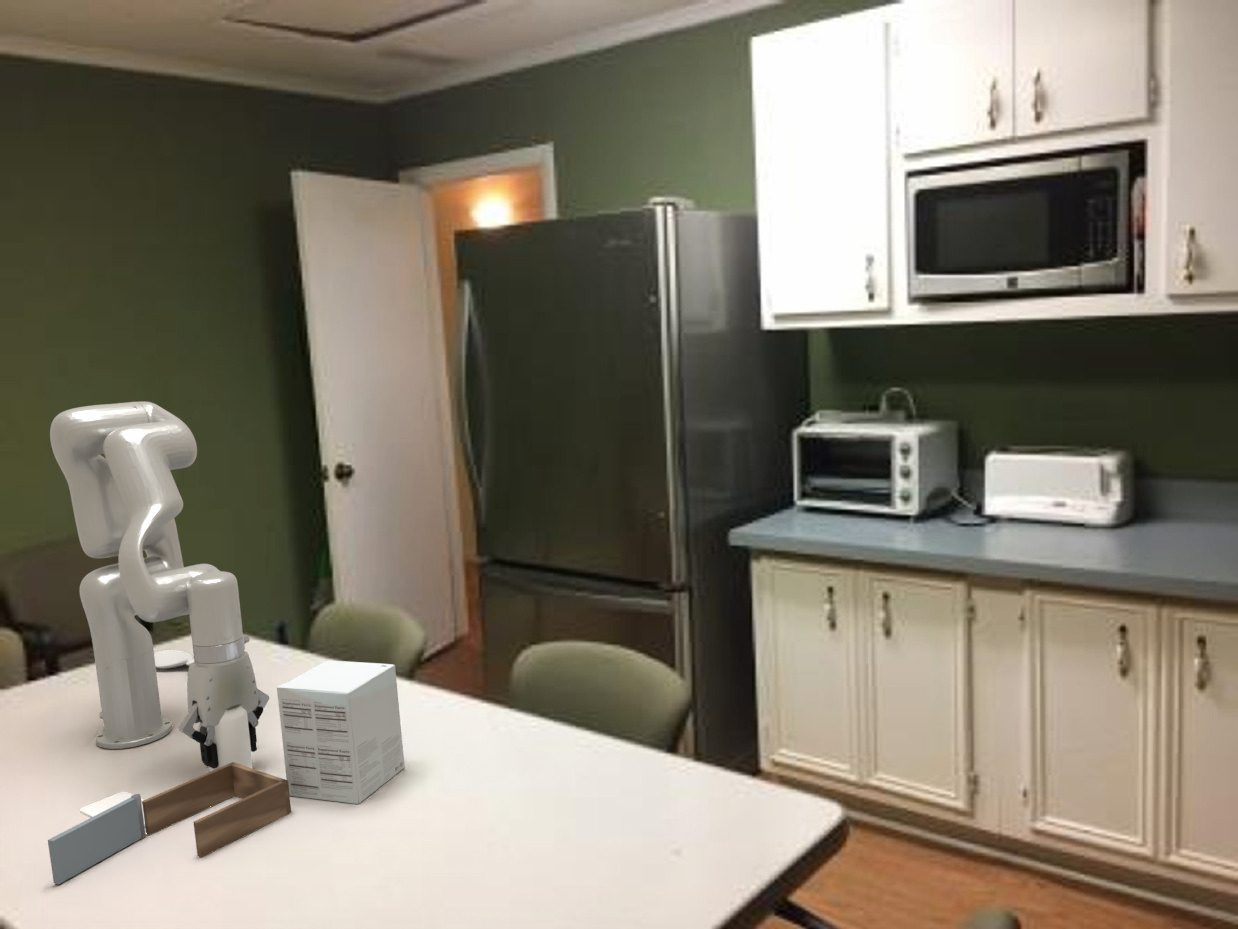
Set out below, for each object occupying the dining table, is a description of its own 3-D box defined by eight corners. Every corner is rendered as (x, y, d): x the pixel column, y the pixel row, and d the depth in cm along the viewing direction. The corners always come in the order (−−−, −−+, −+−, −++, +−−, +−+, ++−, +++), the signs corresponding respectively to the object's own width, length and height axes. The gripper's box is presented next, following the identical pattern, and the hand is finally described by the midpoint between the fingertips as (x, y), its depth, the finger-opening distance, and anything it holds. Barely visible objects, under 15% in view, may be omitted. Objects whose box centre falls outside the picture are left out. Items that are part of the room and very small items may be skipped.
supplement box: (337, 760, 169) (326, 658, 167) (406, 768, 165) (396, 663, 163) (285, 796, 157) (274, 687, 155) (359, 805, 153) (348, 692, 150)
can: (239, 785, 161) (231, 713, 160) (202, 784, 163) (194, 711, 161) (261, 767, 168) (253, 697, 166) (225, 766, 169) (217, 696, 167)
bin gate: (141, 834, 147) (136, 793, 146) (147, 835, 147) (142, 794, 146) (53, 883, 135) (47, 839, 134) (59, 885, 134) (53, 840, 133)
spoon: (208, 696, 205) (207, 679, 205) (140, 667, 227) (138, 652, 226) (250, 682, 212) (248, 666, 212) (179, 656, 233) (178, 641, 233)
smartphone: (124, 790, 162) (175, 812, 153) (124, 795, 162) (175, 816, 153) (77, 809, 156) (127, 833, 147) (77, 814, 156) (128, 838, 147)
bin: (146, 834, 147) (141, 801, 147) (236, 792, 159) (232, 762, 159) (200, 857, 140) (196, 823, 139) (291, 812, 151) (288, 780, 151)
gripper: (251, 632, 171) (262, 734, 174) (154, 663, 157) (167, 773, 160) (279, 638, 167) (290, 743, 170) (182, 671, 153) (195, 784, 156)
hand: (230, 756), depth 165 cm, fingers closed on can, 6 cm apart
